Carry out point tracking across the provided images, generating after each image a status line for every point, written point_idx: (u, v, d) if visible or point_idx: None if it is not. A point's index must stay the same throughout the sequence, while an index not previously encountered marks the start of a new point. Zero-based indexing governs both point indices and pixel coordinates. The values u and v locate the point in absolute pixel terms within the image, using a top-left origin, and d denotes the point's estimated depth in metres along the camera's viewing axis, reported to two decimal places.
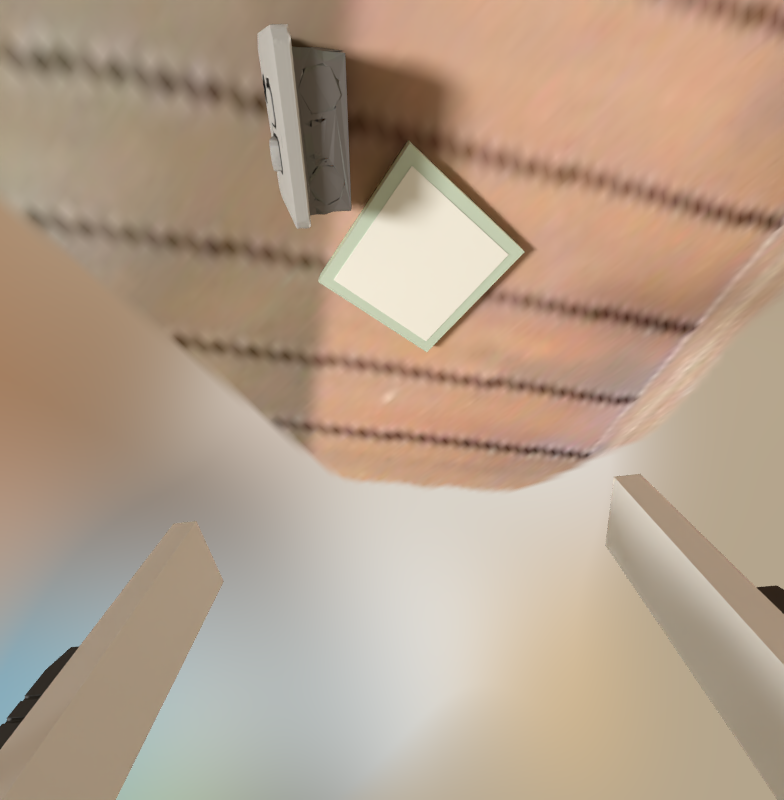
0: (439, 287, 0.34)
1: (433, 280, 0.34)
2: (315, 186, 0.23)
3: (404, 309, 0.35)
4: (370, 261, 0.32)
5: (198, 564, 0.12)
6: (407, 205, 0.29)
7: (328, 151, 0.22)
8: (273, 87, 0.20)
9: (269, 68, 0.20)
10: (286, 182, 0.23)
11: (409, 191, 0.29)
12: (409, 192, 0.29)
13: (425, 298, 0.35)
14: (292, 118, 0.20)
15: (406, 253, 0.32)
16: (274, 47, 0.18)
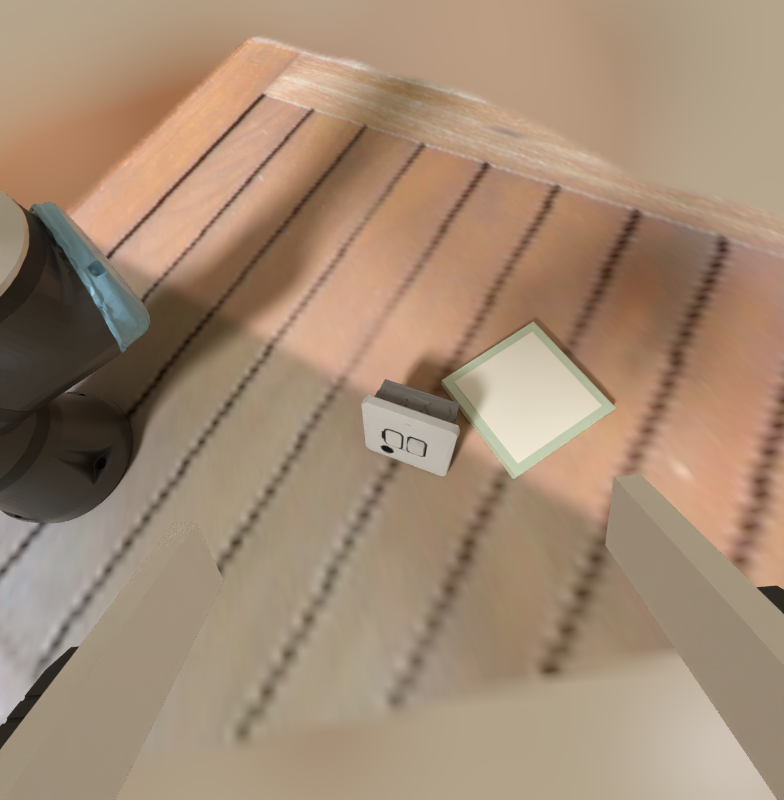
0: (547, 382, 0.40)
1: (540, 386, 0.40)
2: (437, 416, 0.34)
3: (561, 415, 0.39)
4: (510, 428, 0.39)
5: (198, 564, 0.12)
6: (477, 390, 0.41)
7: (422, 402, 0.35)
8: (384, 419, 0.35)
9: (376, 419, 0.35)
10: (429, 436, 0.34)
11: (469, 387, 0.41)
12: (469, 387, 0.41)
13: (555, 395, 0.40)
14: (399, 408, 0.33)
15: (512, 400, 0.40)
16: (369, 403, 0.34)
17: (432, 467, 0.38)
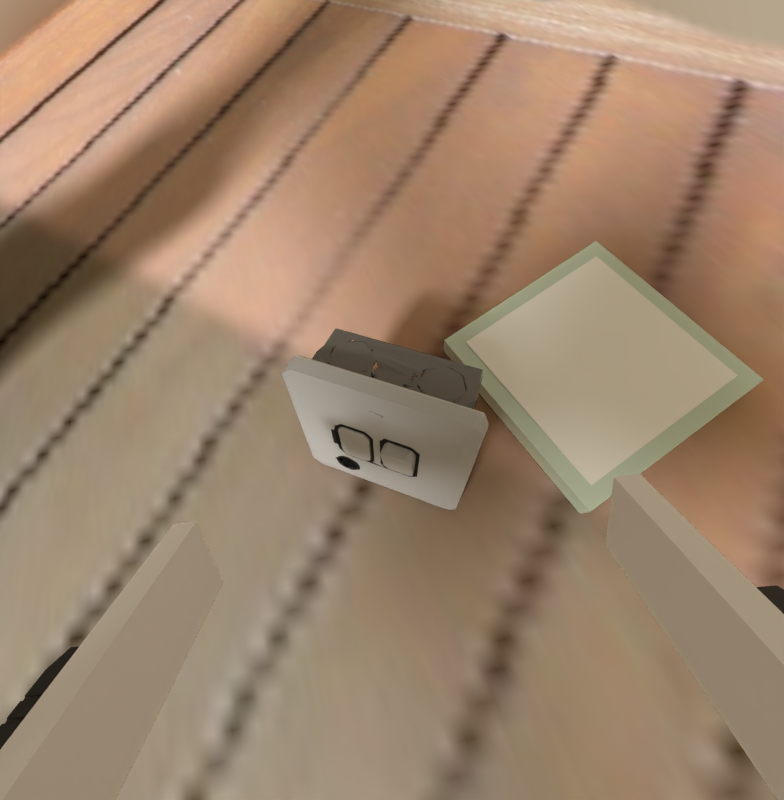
0: (631, 338, 0.23)
1: (618, 345, 0.23)
2: (438, 396, 0.16)
3: (664, 394, 0.21)
4: (571, 420, 0.21)
5: (198, 564, 0.12)
6: (507, 355, 0.23)
7: (407, 370, 0.17)
8: (330, 404, 0.17)
9: (317, 407, 0.18)
10: (423, 437, 0.16)
11: (492, 350, 0.24)
12: (493, 350, 0.24)
13: (648, 360, 0.22)
14: (357, 380, 0.16)
15: (570, 370, 0.23)
16: (295, 371, 0.16)
17: (431, 495, 0.21)
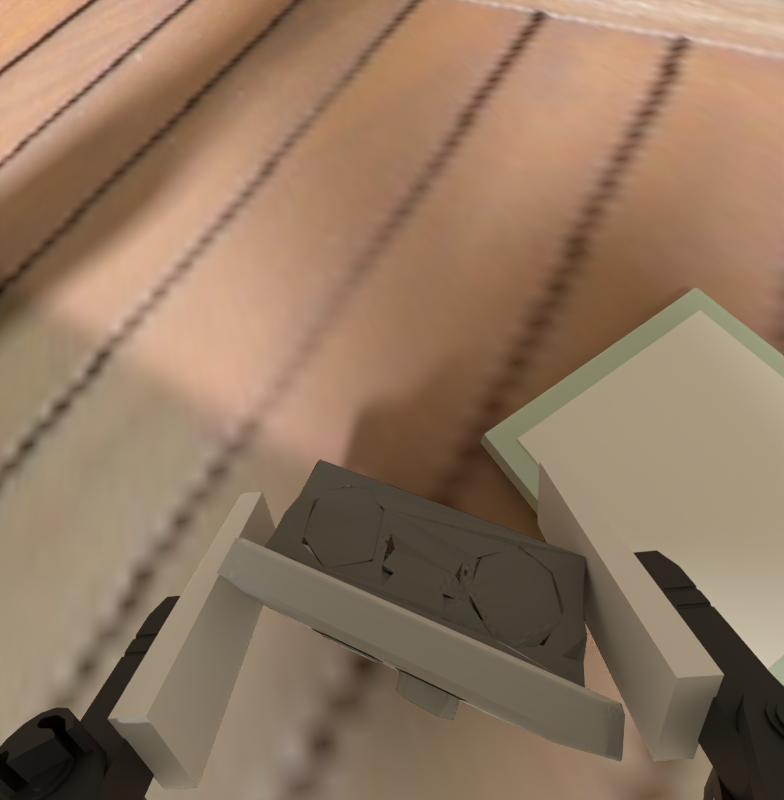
0: (768, 441, 0.15)
1: (749, 451, 0.15)
2: (512, 627, 0.08)
3: None
4: (689, 577, 0.14)
5: (265, 530, 0.13)
6: (580, 462, 0.16)
7: (448, 556, 0.09)
8: (306, 623, 0.09)
9: (285, 614, 0.10)
10: (484, 708, 0.08)
11: (557, 453, 0.16)
12: (558, 453, 0.16)
13: None
14: (356, 608, 0.08)
15: (678, 490, 0.15)
16: (238, 580, 0.08)
17: None
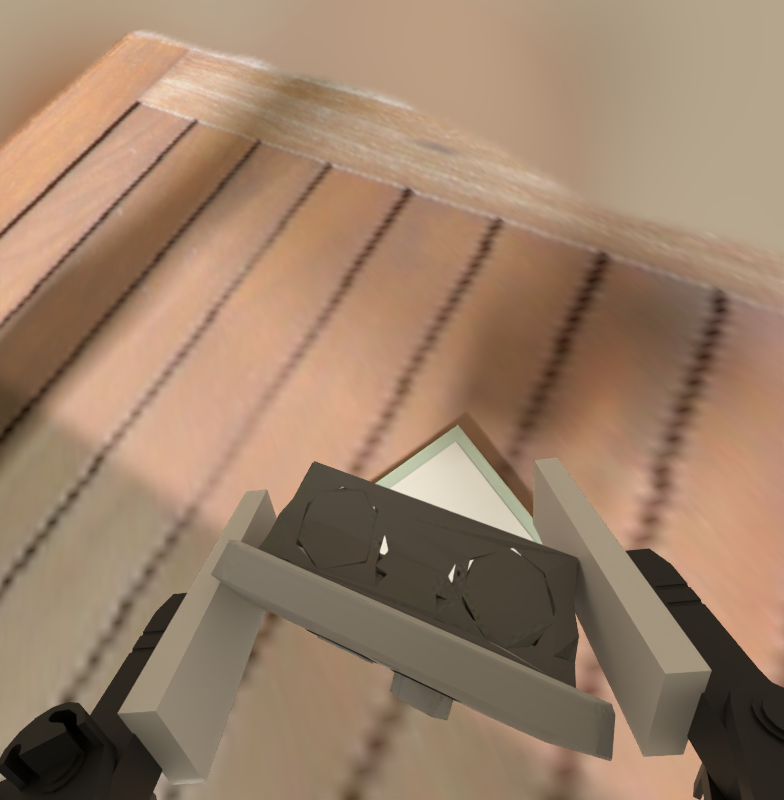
0: None
1: None
2: (504, 628, 0.08)
3: None
4: None
5: (269, 528, 0.13)
6: None
7: (441, 557, 0.09)
8: (300, 624, 0.09)
9: (279, 615, 0.10)
10: (476, 708, 0.08)
11: None
12: None
13: None
14: (348, 609, 0.08)
15: None
16: (232, 581, 0.08)
17: None
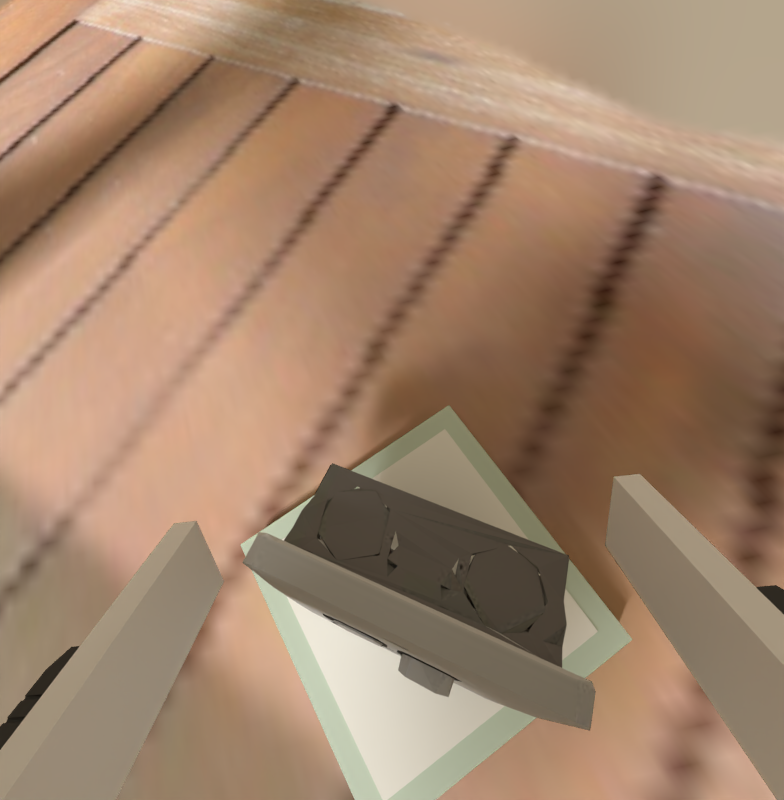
0: (470, 561, 0.17)
1: (453, 569, 0.17)
2: (500, 615, 0.10)
3: None
4: (374, 688, 0.16)
5: (198, 564, 0.12)
6: None
7: (446, 552, 0.11)
8: (320, 608, 0.10)
9: (300, 600, 0.11)
10: (474, 685, 0.10)
11: None
12: None
13: None
14: (364, 595, 0.09)
15: None
16: (262, 569, 0.10)
17: (468, 689, 0.14)
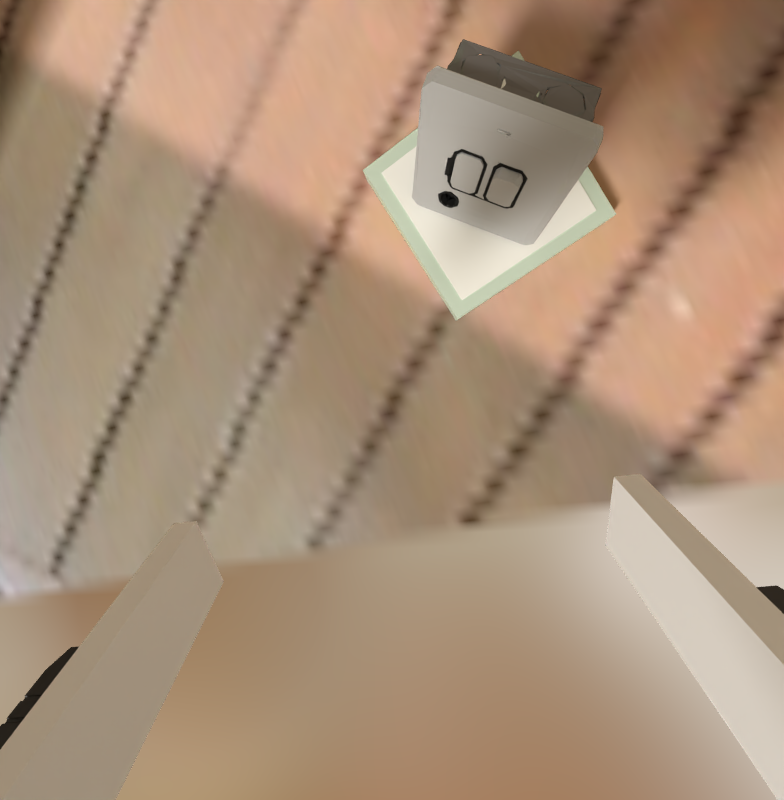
0: None
1: None
2: None
3: None
4: (457, 248, 0.27)
5: (198, 564, 0.12)
6: None
7: (533, 87, 0.19)
8: (460, 124, 0.19)
9: (445, 128, 0.20)
10: (540, 156, 0.19)
11: (403, 181, 0.27)
12: (404, 181, 0.27)
13: None
14: (494, 93, 0.18)
15: None
16: (438, 83, 0.18)
17: (517, 229, 0.25)
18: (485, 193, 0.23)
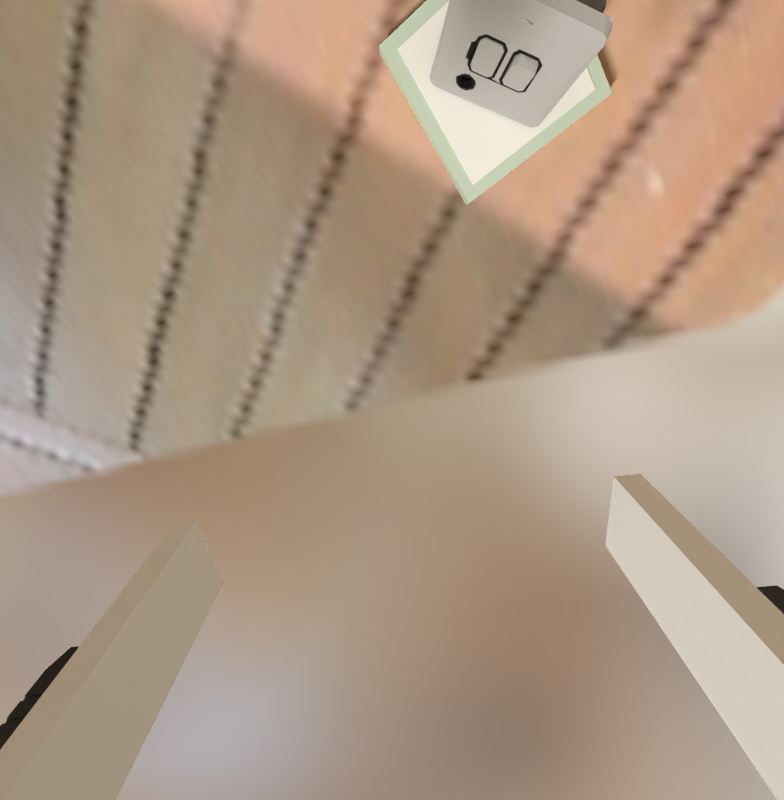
0: None
1: None
2: None
3: None
4: (469, 132, 0.30)
5: (198, 564, 0.12)
6: (431, 65, 0.28)
7: None
8: (488, 10, 0.21)
9: (473, 14, 0.22)
10: (556, 45, 0.22)
11: (419, 59, 0.28)
12: (420, 59, 0.28)
13: None
14: None
15: None
16: None
17: (526, 112, 0.28)
18: (502, 77, 0.25)
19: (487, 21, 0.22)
